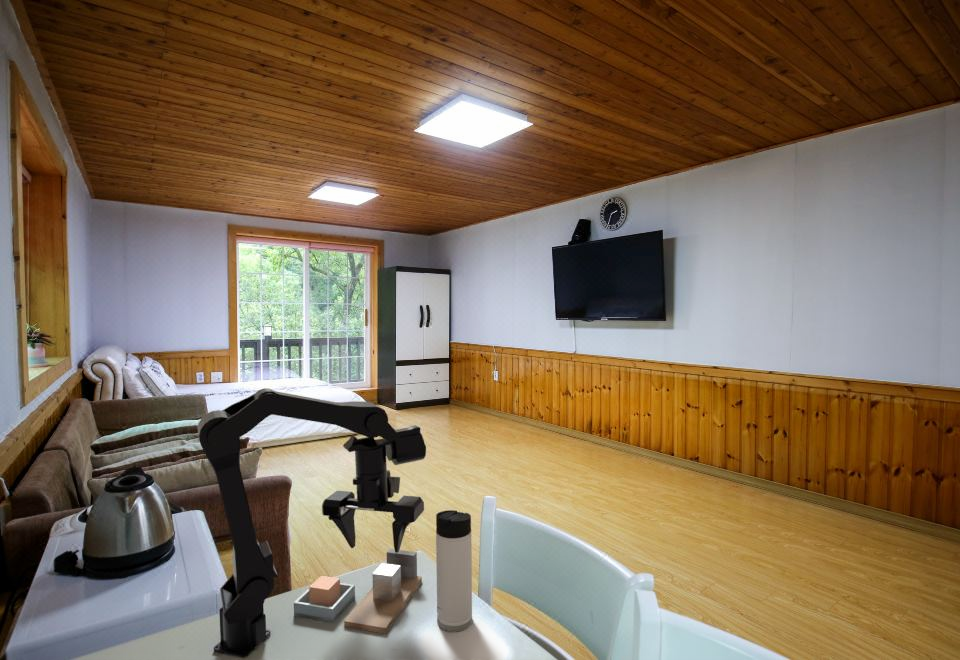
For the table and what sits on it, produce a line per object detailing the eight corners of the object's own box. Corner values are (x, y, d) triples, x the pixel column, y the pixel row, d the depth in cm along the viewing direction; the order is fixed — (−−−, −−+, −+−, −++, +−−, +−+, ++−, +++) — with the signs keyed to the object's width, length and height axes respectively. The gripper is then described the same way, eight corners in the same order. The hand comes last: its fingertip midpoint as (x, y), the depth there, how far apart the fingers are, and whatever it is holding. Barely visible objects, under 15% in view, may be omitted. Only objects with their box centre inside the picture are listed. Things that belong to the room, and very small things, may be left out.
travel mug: (429, 627, 90) (427, 516, 89) (448, 607, 96) (447, 502, 95) (460, 637, 87) (458, 523, 86) (478, 616, 93) (477, 509, 92)
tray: (294, 615, 93) (293, 602, 93) (318, 591, 101) (318, 579, 101) (333, 622, 91) (332, 609, 91) (355, 597, 99) (354, 584, 99)
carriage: (373, 599, 97) (372, 573, 96) (382, 587, 101) (381, 562, 100) (392, 602, 96) (392, 576, 95) (401, 590, 100) (400, 565, 99)
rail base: (344, 626, 90) (343, 593, 90) (385, 576, 107) (385, 548, 106) (385, 633, 88) (385, 600, 88) (421, 581, 105) (421, 552, 104)
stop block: (309, 607, 95) (309, 586, 95) (321, 595, 99) (321, 575, 98) (328, 611, 94) (328, 590, 94) (340, 598, 98) (339, 578, 97)
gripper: (432, 458, 102) (435, 534, 103) (347, 453, 107) (351, 526, 108) (411, 478, 91) (414, 562, 92) (318, 472, 96) (322, 552, 97)
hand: (374, 549), depth 98 cm, fingers open, 9 cm apart
